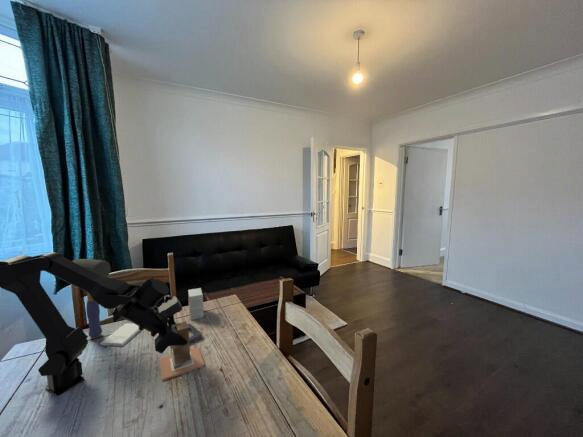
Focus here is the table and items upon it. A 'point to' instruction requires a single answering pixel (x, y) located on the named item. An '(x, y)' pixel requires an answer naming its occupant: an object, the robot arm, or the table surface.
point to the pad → (170, 372)
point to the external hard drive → (121, 335)
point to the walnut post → (182, 347)
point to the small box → (195, 303)
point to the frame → (195, 333)
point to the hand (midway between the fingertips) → (185, 338)
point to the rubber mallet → (92, 307)
